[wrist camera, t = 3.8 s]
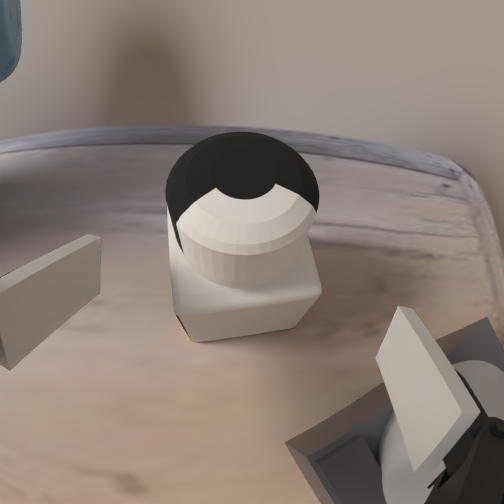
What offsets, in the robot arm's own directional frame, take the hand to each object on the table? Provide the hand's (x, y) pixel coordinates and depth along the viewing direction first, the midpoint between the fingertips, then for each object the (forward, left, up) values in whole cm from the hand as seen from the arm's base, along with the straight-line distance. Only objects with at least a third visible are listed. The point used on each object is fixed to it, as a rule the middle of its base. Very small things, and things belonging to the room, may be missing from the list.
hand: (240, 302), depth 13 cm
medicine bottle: (-3, +2, -9) cm, 10 cm away
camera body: (+12, +7, -9) cm, 17 cm away
